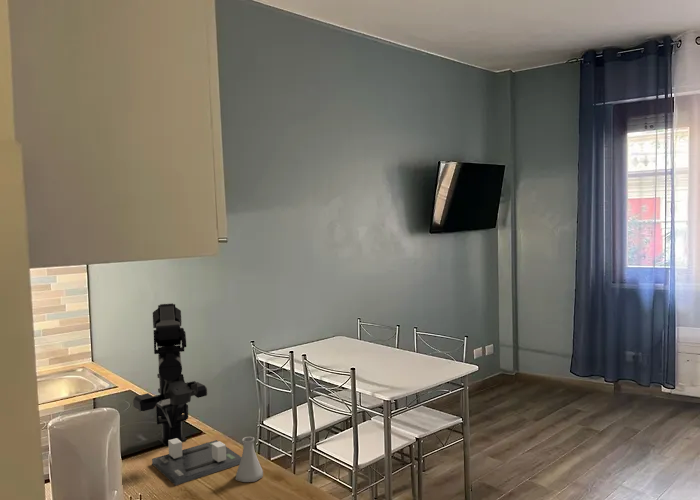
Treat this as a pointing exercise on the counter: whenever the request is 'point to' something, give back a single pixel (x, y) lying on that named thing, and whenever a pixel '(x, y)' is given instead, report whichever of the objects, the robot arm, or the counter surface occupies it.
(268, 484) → the counter surface
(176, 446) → the block
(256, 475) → the flask
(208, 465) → the dark grey flat plate
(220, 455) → the block
